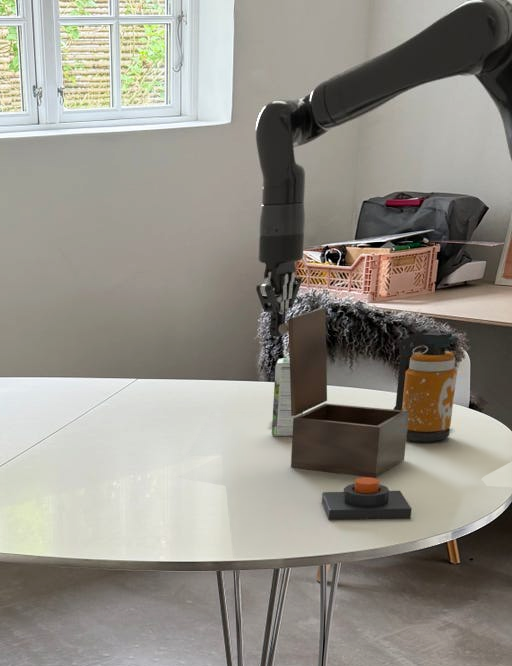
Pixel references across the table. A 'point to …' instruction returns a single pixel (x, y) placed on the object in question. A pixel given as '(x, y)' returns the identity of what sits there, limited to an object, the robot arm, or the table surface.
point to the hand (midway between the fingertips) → (277, 335)
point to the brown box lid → (307, 359)
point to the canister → (427, 385)
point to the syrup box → (282, 400)
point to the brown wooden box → (349, 439)
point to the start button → (366, 485)
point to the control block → (365, 504)
